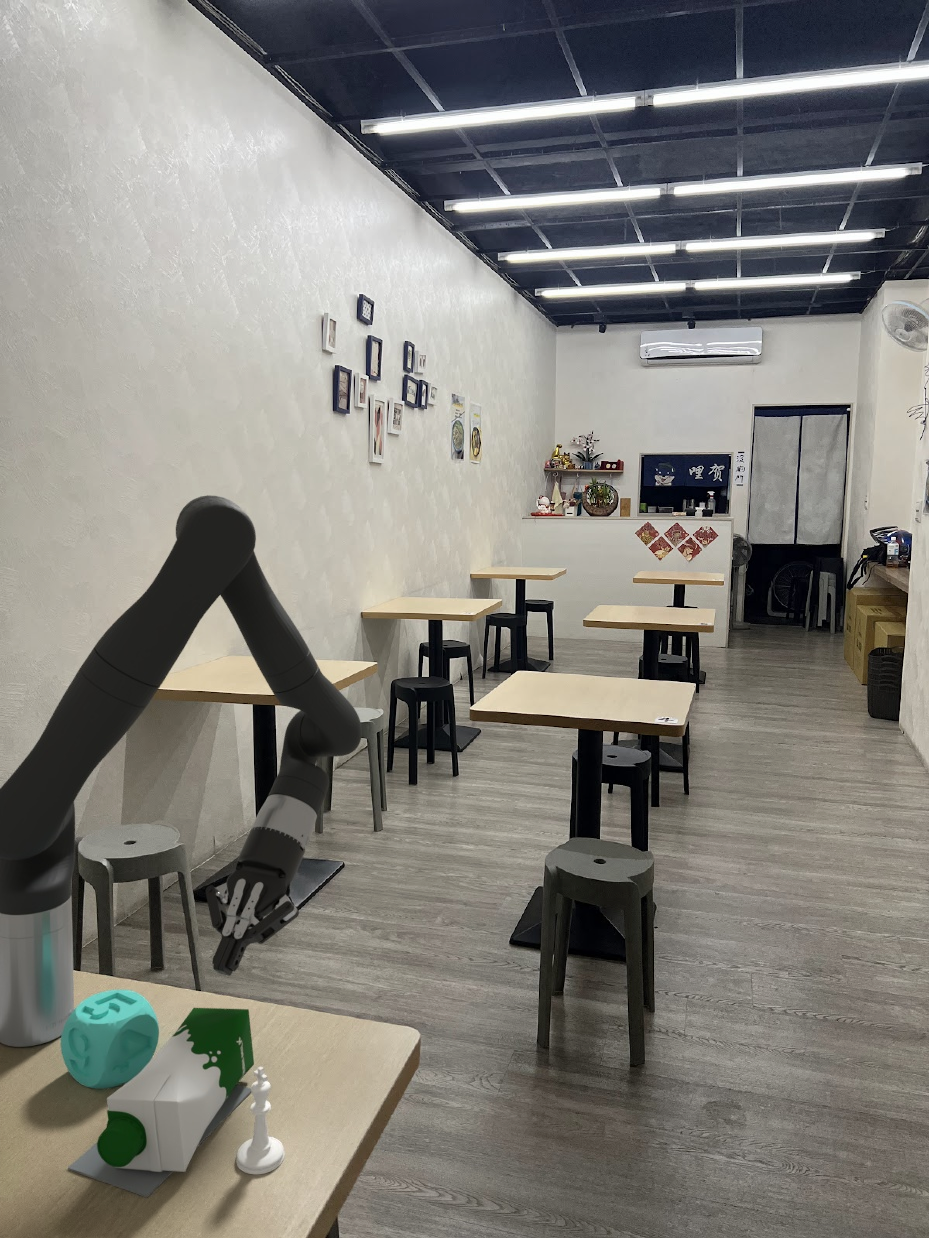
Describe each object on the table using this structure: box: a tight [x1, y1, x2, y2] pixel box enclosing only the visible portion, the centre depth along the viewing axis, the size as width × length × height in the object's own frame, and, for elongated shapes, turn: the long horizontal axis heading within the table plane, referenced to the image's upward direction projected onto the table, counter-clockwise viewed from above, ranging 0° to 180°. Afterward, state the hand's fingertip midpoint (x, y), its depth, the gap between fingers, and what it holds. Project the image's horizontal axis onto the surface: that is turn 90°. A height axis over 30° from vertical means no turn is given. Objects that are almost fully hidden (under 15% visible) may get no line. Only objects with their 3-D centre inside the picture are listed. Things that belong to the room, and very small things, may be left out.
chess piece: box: [235, 1066, 285, 1175], centre depth 94 cm, size 5×5×10 cm
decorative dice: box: [60, 989, 160, 1090], centre depth 108 cm, size 8×8×8 cm
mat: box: [67, 1084, 252, 1198], centre depth 98 cm, size 10×18×1 cm, turn 159°
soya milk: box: [96, 1007, 255, 1173], centre depth 98 cm, size 9×9×20 cm
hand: (221, 972), depth 106 cm, fingers closed
